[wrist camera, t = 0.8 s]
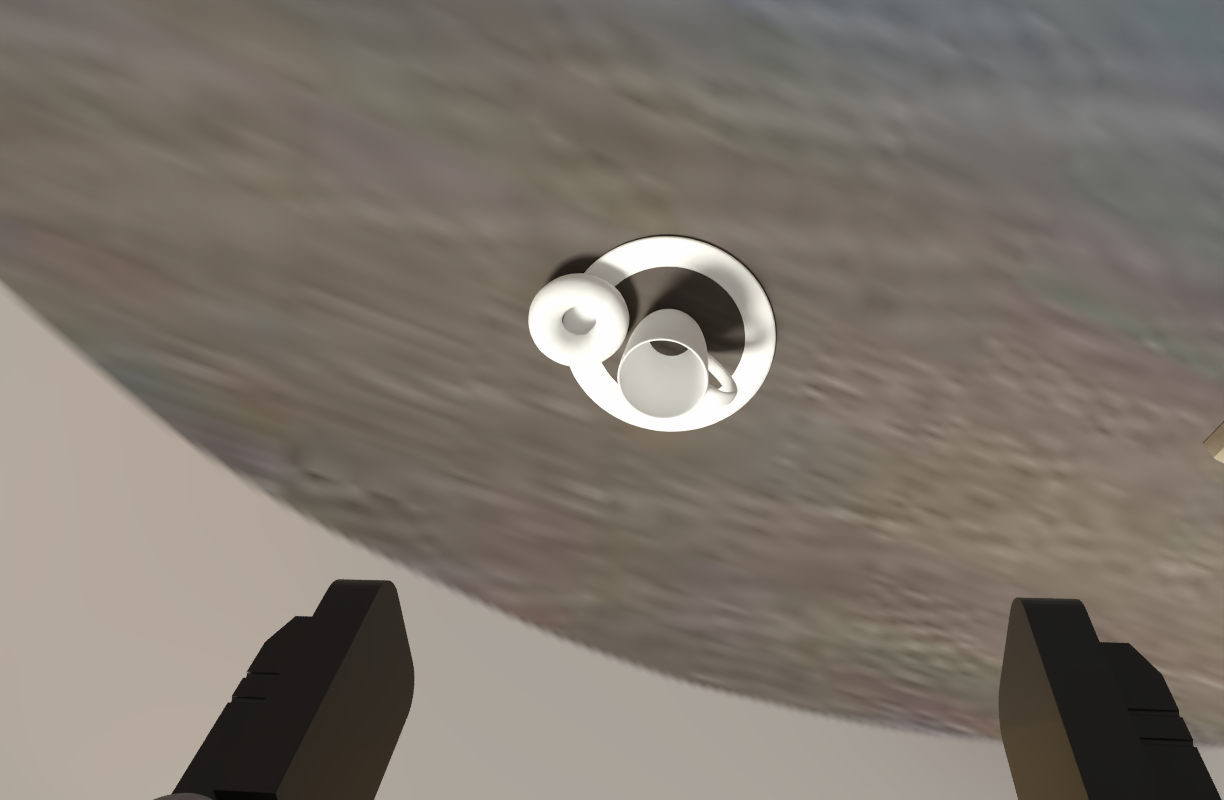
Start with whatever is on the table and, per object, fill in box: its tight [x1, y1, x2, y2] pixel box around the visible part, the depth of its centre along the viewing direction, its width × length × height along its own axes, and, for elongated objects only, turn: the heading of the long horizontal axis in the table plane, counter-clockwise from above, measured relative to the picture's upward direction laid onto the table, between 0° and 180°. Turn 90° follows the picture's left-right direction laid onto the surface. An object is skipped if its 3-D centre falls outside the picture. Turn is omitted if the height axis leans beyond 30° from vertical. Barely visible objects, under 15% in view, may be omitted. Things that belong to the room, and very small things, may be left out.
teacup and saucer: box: [528, 236, 776, 431], centre depth 37 cm, size 9×8×4 cm
